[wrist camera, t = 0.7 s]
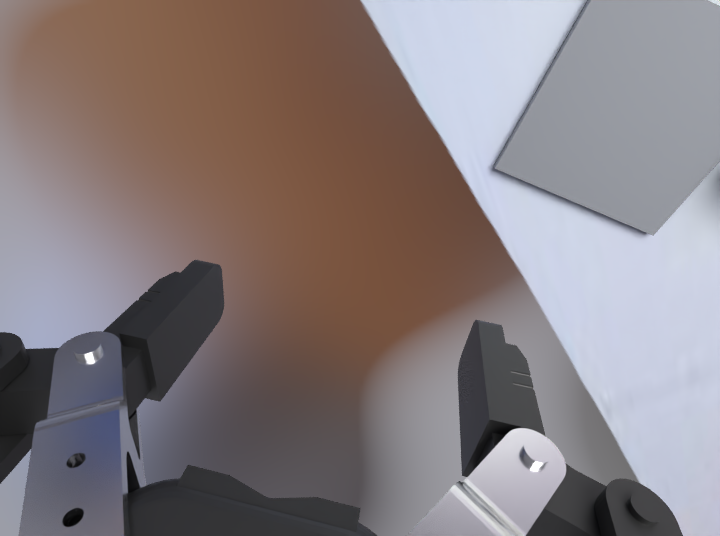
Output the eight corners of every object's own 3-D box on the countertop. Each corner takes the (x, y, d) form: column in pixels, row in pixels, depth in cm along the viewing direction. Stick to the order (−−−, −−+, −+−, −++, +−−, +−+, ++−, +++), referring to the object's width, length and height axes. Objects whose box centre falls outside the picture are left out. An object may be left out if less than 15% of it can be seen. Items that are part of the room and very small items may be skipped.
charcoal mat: (610, -41, 28) (614, -42, 28) (809, 50, 29) (818, 50, 28) (493, 166, 37) (494, 168, 36) (649, 231, 38) (653, 235, 37)
